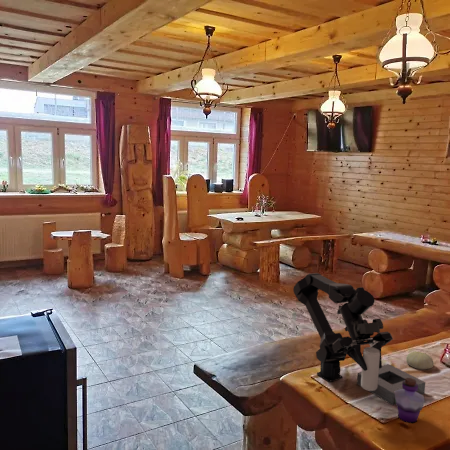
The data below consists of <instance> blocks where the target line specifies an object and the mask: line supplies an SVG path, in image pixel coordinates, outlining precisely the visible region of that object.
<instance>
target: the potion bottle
mask: <svg viewBox="0 0 450 450" xmlns="http://www.w3.org/2000/svg"><path fill="white" fill-rule="evenodd" d="M402 387H403V389H400V390H397V391H394V392H395V403H396V404H395V406H396V407H397V419H399V418H400V419H399V420H400V421H402V422H404V423H406V424H415V423H418V419H419V416H420V412H421V411H422V410H423V407H424V404H425V397H424V394H422V395H421V394H419V393H417V392H416V391H418V384H417V383H416V380H415V379H413V378H406V379H405V381H403V383H402Z"/></svg>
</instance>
